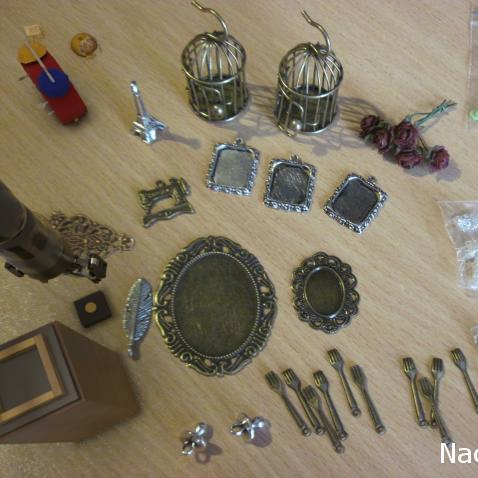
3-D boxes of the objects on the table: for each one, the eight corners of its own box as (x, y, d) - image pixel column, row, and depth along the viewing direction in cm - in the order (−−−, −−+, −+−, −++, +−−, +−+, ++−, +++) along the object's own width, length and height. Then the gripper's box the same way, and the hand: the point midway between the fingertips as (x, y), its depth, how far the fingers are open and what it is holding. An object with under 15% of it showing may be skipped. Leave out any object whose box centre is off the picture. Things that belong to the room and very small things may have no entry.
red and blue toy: (96, 123, 124) (66, 68, 106) (61, 143, 122) (24, 90, 103) (62, 78, 128) (27, 16, 109) (28, 96, 125) (-15, 36, 106)
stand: (79, 442, 102) (-16, 445, 68) (57, 382, 105) (-44, 356, 71) (141, 411, 105) (79, 399, 71) (118, 354, 108) (49, 316, 74)
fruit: (94, 71, 129) (90, 61, 125) (64, 56, 130) (58, 46, 126) (115, 46, 132) (111, 35, 128) (85, 31, 132) (80, 20, 129)
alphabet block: (28, 35, 131) (23, 26, 128) (41, 31, 131) (36, 22, 128) (32, 45, 130) (26, 36, 127) (45, 41, 130) (40, 32, 128)
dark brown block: (87, 329, 109) (81, 325, 106) (78, 305, 111) (72, 301, 107) (113, 317, 110) (108, 313, 107) (104, 293, 112) (99, 289, 108)
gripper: (-21, 272, 79) (26, 298, 94) (82, 273, 80) (112, 299, 95) (-11, 223, 81) (33, 256, 96) (88, 225, 82) (116, 257, 98)
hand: (72, 277), depth 96 cm, fingers open, 8 cm apart
